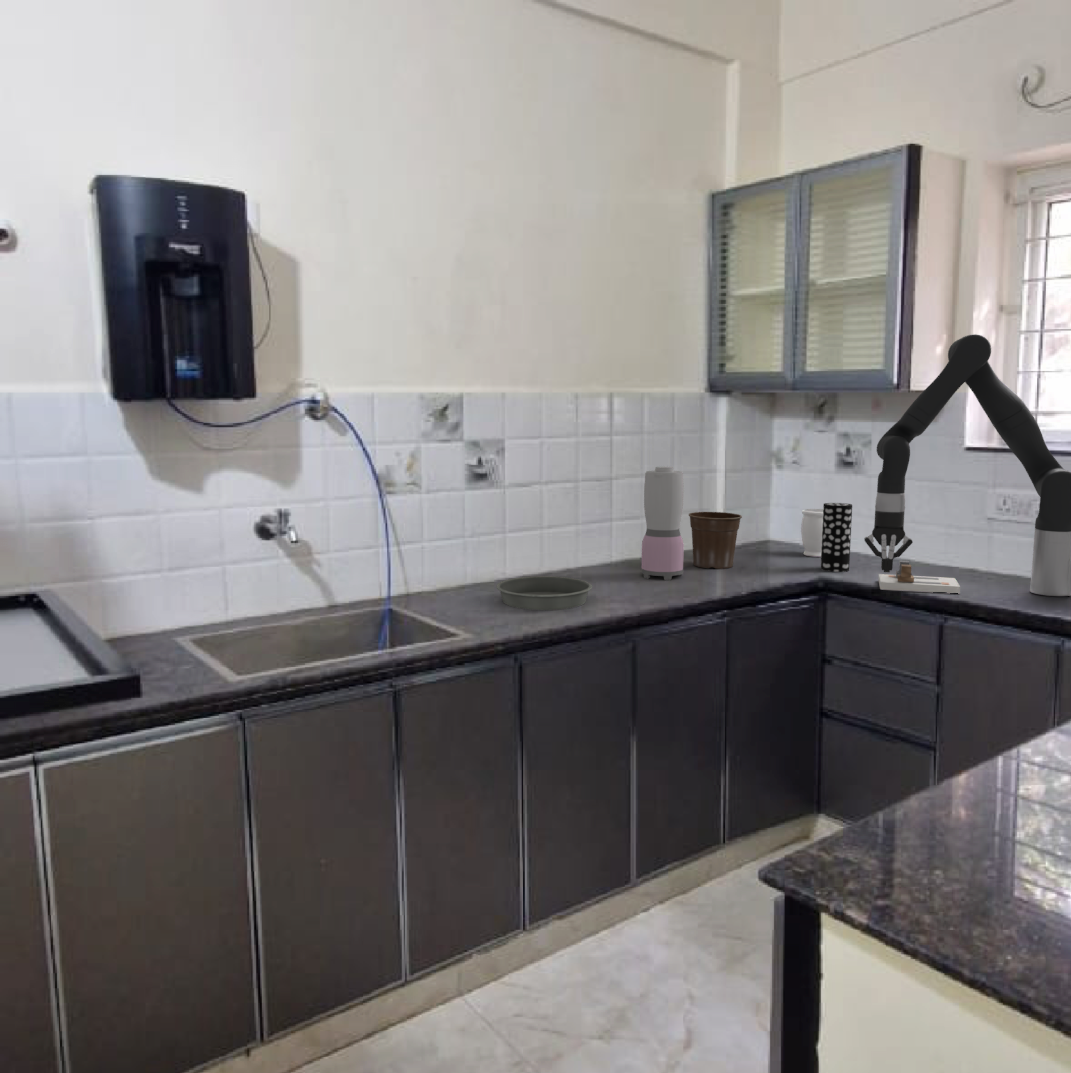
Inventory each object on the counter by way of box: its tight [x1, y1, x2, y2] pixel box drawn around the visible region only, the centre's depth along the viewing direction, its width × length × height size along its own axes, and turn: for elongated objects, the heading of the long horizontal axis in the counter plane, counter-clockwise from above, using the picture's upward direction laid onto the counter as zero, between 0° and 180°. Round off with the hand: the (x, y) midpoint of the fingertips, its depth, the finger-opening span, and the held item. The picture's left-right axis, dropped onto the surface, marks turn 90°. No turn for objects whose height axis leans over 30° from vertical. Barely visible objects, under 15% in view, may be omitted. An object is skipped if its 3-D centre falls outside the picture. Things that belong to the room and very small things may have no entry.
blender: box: [640, 465, 685, 581], centre depth 278 cm, size 16×12×32 cm
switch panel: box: [878, 573, 961, 595], centre depth 263 cm, size 20×13×2 cm, turn 72°
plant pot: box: [688, 511, 743, 570], centre depth 295 cm, size 16×16×16 cm
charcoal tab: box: [895, 559, 913, 577], centre depth 267 cm, size 4×4×4 cm
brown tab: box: [897, 564, 914, 582], centre depth 260 cm, size 4×4×4 cm
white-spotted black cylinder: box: [820, 502, 853, 573], centre depth 289 cm, size 8×8×20 cm
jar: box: [800, 508, 823, 558], centre depth 316 cm, size 11×10×15 cm
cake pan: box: [496, 575, 593, 611], centre depth 244 cm, size 25×25×4 cm
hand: (886, 571), depth 262 cm, fingers closed
